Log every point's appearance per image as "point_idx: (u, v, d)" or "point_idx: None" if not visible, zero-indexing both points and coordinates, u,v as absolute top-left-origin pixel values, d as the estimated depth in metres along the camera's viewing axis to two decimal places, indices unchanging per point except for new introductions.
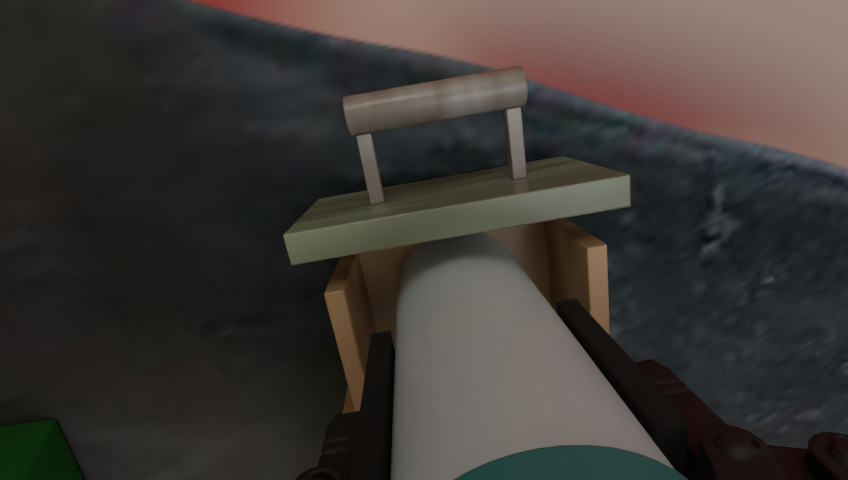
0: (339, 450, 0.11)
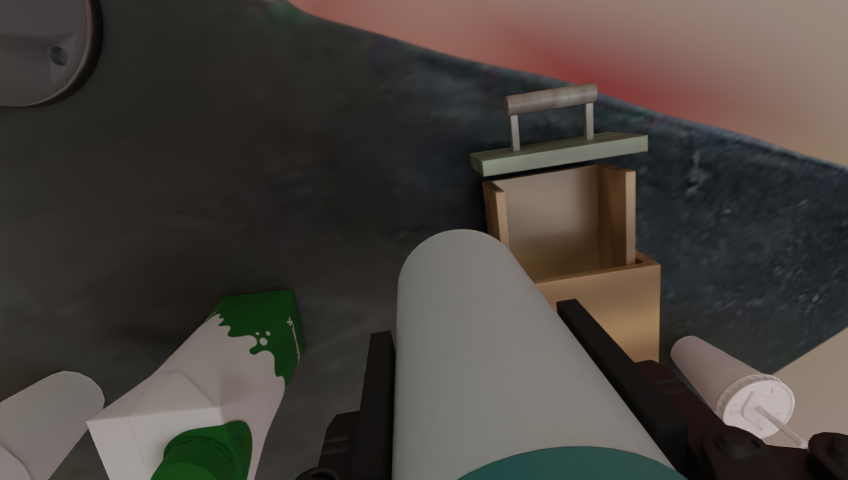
0: (339, 450, 0.11)
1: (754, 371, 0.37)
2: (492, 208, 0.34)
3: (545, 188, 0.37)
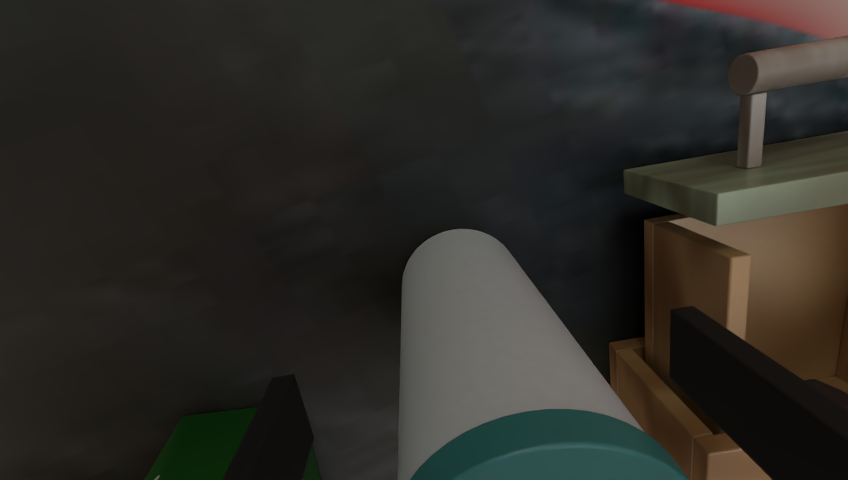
0: None
1: None
2: (694, 279, 0.17)
3: (762, 231, 0.20)
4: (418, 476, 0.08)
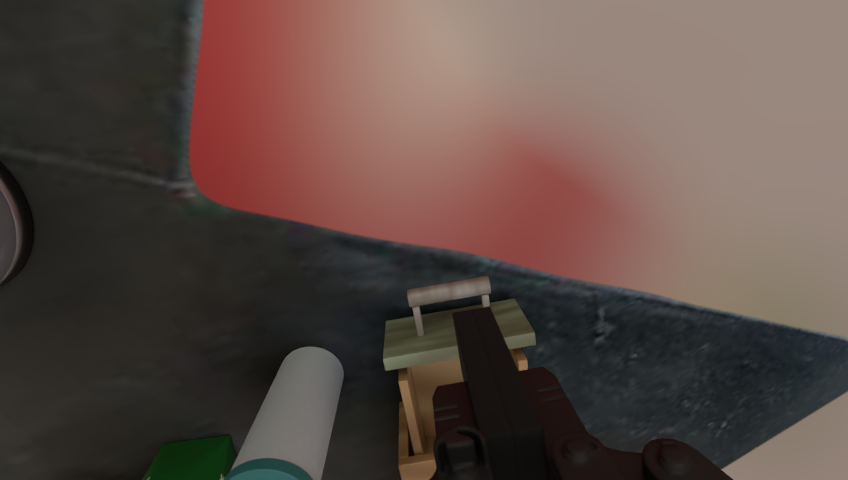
0: (452, 417, 0.12)
1: None
2: None
3: None
4: (225, 478, 0.28)
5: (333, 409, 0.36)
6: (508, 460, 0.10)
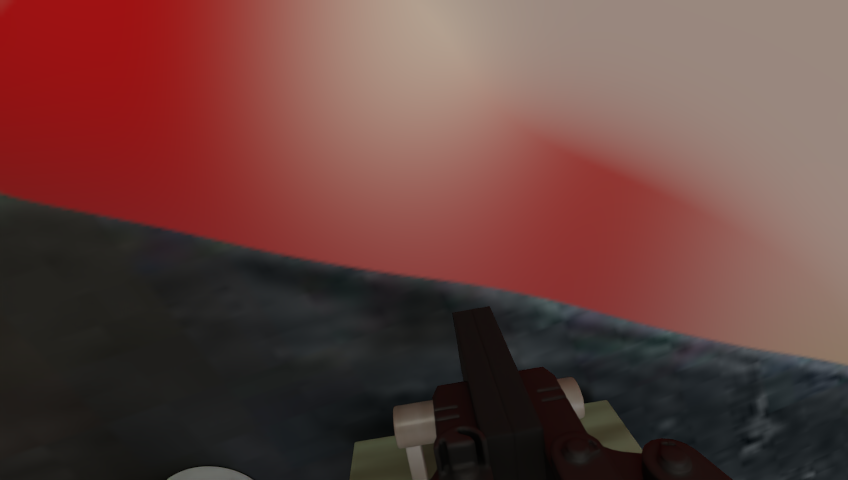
0: (452, 417, 0.12)
1: None
2: None
3: None
4: None
5: None
6: (508, 460, 0.10)
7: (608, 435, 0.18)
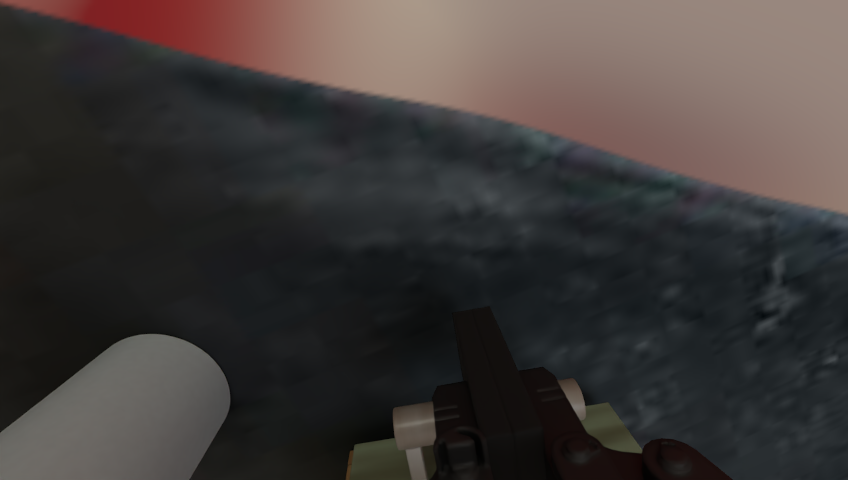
0: (452, 417, 0.12)
1: None
2: None
3: None
4: None
5: None
6: (508, 460, 0.10)
7: (609, 437, 0.18)
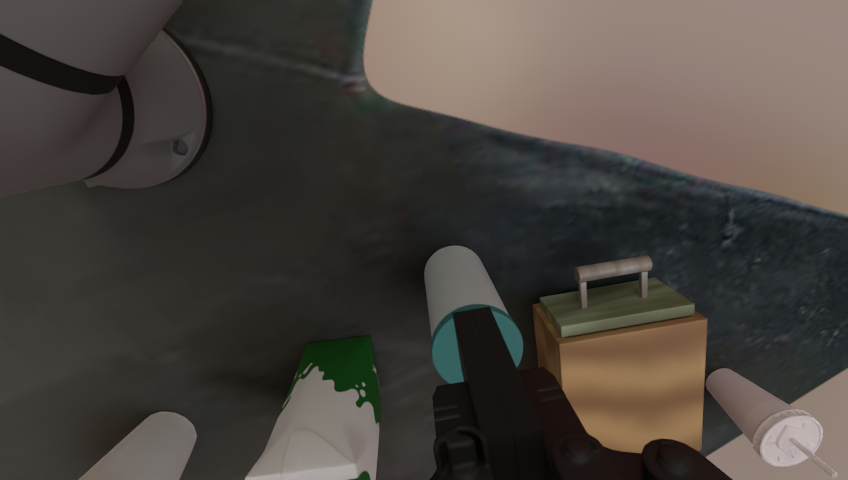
0: (452, 417, 0.12)
1: (786, 406, 0.42)
2: None
3: None
4: (440, 323, 0.30)
5: None
6: (508, 460, 0.10)
7: (657, 286, 0.42)
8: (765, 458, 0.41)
